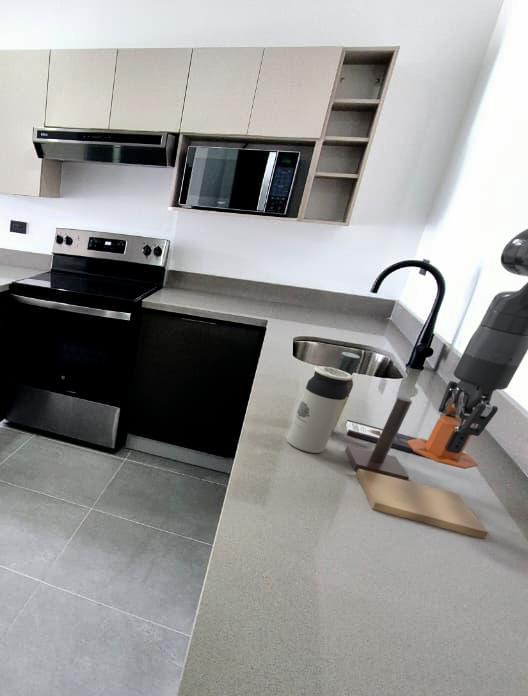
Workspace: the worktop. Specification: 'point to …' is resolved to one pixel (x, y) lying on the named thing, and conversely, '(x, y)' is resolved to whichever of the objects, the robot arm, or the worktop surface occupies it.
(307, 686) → the worktop surface
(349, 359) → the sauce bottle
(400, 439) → the chocolate bar
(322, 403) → the travel mug
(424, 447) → the hat
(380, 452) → the hat stand
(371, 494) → the oak board
